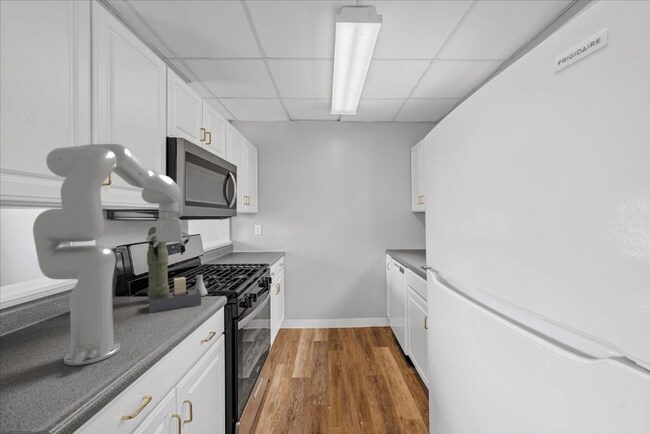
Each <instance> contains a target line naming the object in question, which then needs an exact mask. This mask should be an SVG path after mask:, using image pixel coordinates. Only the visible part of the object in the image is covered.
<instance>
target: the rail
mask: <svg viewBox="0 0 650 434" xmlns="http://www.w3.org/2000/svg"><path fill="white" fill-rule="evenodd" d="M148 300H149V302H148V313H149V314H150V313H156V312H163V311H169V310H176V309H183V308H189V307H196V306H201V305H202V296H201V292H200V290H199V289H188V290H187V289H186V295H180V296H174V291H173V292H169V293H164V294H156V295H150V298H149V299H148Z"/></svg>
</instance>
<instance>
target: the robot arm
mask: <svg viewBox="0 0 650 434" xmlns="http://www.w3.org/2000/svg"><path fill="white" fill-rule="evenodd" d="M45 161H46V166H47V168H48V169H49V171H50V172H52V173H53V174H54V175H55V176H58V177H61V178H64V180H63V182H62V184H61V188H60V201H61V208H52V209H47V210H44V211H41V213H39V214H38V215H37V216H36V218H35V219H34V221H33V226H32V234H33V239H34V241H33V242H34V245H35V252H36V256H37V262H38V267H39V269H40V272H41V273H42V275H44V276H45V277H46V278H48V279H51V280H77V282H76V284H75V286H74V287H73V289H71V293H70V296H69V311H70V313H69V314H70V315H69V316H70V348H71V349H70V352H69V353H67V354H66V355H65V356H64V358H63V363H64V365H68V366H83V365H88V364H93V363H97V362H100V361H103V360H105V359H108V358H110V357H112V356H114V355H115V354H117V353H118V352H119V351H120V349H121V343H119V342H118V341H117V342H116V341H114V312H113V311H114V309H113V307H114V306H113V305H114V304H113V278H114V273H115V272H114V271H115V269H116V263H117V262H116V260H117V257H116V253H115V252H114V251H113V250H112V249H111V248H110V247H107V246H104V245H95V244H93V245H92V244H91V245H88V244H87V245H86V244H85V245H72V243H78V242H79V243H80V242H81V243H82V242H93V241H97V240H99V239H101V238H102V237H103V236H104V233H105V222H104V221H105V220H104V212H103V207H102V200H101V199H102V198H101V197H102V196H101V191H102V190H101V189H102V187H103V184H104V182H105V181H106V179H107V178H108V177H109V176H110V175H111V174H112V173H114V174H116V175H117V176H119V178H121V179H122V180H123V181H124V182H125V183H127V184H128V185H130V186H132V187H136V188H139V189H142V190H141V198H142V200H143V201H144V202H145V203H147V204H150V205H151V204H153V205H154V204H155V205H157V204H158V219H157V220H156V225H155V227H156V233H154V234H152V235H150V236H148V235H147V236H146V237H145V239H146V241H147V243H148V242H149V244H150V245H152V246H153V247H154V255H156V257H157V256H158V247H157V245H158V244H159V243H160V242H166V243H176V242H177V243H178V242H179V244H180V255H182V256H183V254H184V253H185V245H186V244H188V242H189V241H190V239H191V238H192V235H191V234H188V233H186V232H184V231H183V226H182V221H181V219H180V217H183V213H181V212H179V202H180V201H181V199H182V191H181V188H180V187H179V185H178V184H177V183H176V182H175V181H174V180H173V179H172V178H171V177H170V176H167V175H166V174H163V173H161V172H159V171H156V170H153V169H150V168H148V167H147V166H146V165H145V164H144V163H143V162H142V161H141V160H140V159H139V158H138V157H137V156H136V155H134V153H133V152H132V151H130V149H128V148H127V146H124V145H122V144H119V143H94V144H84V145H76V146H65V147H57V148H54V149H52V150H51V151H50V152H49V153H47V155H46V160H45ZM154 236H156V242H155V243H153V242H152V241H151V238H152V237H154ZM183 237H186V238H185V240H184V241H183ZM149 244H148V245H149Z"/></svg>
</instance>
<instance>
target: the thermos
mask: <svg viewBox="0 0 650 434" xmlns="http://www.w3.org/2000/svg"><path fill="white" fill-rule="evenodd" d="M147 232H148V233H147V237H148V236H150V235H152V234H154V233H156V226H153V227H152V226H151V228H149V230H148V231H147ZM151 241H152V242H153V243H155V242H156V236H154V237H152V238H151ZM147 244H148V248H147V249H148V250H147V252H146V264H147V267H148V268H147V270H148V288H147V297H148V298H147V299H148V300H147V301H148V303H149V298H150V295H156V294H164V293H170V286H169V284H168V283H169V282H168V279H169V278H168V277H169V276H168V274H169V273H168V263H169V251H168V248H167V242H160V243H159V244H158V245H157V247H158V256H157V257H156V255H154V247H153V246H152V245H150V244H149V242H148V241H147Z"/></svg>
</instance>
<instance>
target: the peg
mask: <svg viewBox="0 0 650 434" xmlns="http://www.w3.org/2000/svg"><path fill="white" fill-rule="evenodd" d="M186 284H187V278H186V277H185V276H181V277H174V278H173V287H174V289H173V292H174V296H180V295H186V291H187V285H186Z"/></svg>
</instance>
